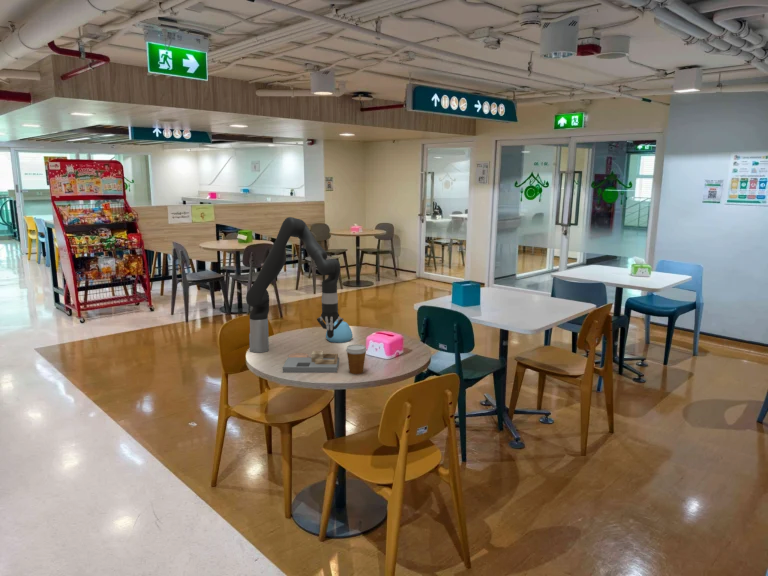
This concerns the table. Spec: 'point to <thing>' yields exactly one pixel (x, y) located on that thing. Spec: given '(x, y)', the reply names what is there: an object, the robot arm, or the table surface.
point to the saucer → (298, 355)
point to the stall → (328, 360)
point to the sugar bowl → (341, 333)
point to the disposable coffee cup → (356, 358)
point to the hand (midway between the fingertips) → (330, 337)
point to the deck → (309, 365)
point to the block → (317, 355)
